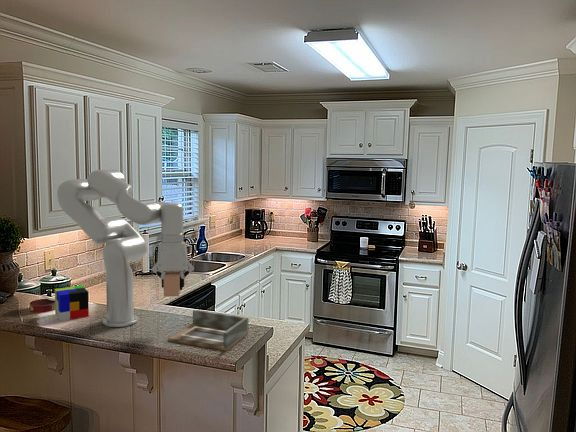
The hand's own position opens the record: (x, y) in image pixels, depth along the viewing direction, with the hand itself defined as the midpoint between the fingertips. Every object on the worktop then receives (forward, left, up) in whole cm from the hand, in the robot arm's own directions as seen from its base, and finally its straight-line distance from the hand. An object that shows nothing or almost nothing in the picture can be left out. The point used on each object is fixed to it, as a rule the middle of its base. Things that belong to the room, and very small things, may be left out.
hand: (173, 288), depth 168 cm
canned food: (-47, -39, -16) cm, 63 cm away
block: (0, 0, -1) cm, 1 cm away
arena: (+11, +9, -16) cm, 21 cm away
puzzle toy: (-34, -30, -16) cm, 48 cm away
